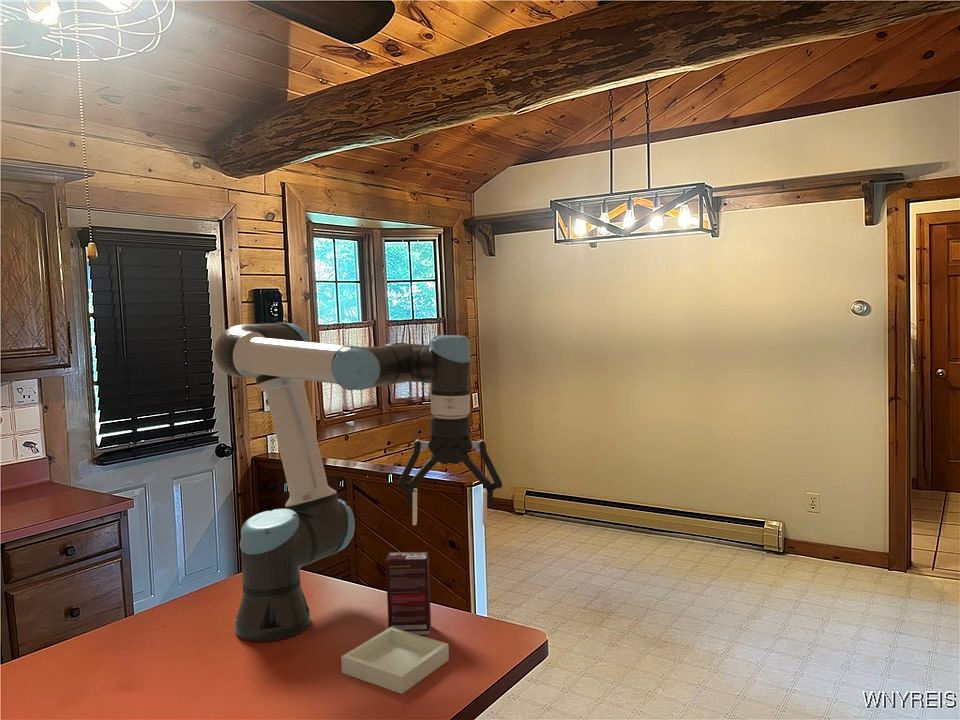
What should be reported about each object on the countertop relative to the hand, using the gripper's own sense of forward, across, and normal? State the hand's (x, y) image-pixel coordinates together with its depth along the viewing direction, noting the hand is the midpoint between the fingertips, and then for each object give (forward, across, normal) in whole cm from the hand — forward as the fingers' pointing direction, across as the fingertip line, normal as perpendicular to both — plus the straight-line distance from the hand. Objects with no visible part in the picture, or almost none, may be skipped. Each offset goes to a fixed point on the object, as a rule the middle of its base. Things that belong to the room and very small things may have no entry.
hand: (449, 523), depth 141 cm
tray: (+24, -10, -9) cm, 28 cm away
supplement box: (+25, -8, +5) cm, 26 cm away
